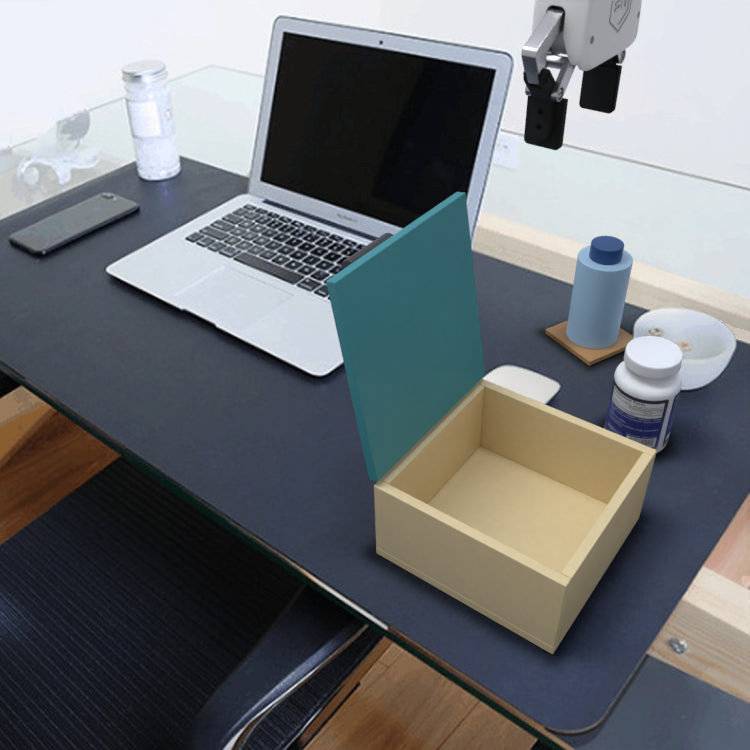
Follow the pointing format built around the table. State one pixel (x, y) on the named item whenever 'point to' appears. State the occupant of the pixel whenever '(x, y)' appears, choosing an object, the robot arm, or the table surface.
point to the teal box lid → (409, 330)
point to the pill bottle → (646, 391)
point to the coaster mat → (584, 353)
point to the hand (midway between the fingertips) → (570, 126)
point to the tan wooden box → (513, 509)
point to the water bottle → (599, 293)
